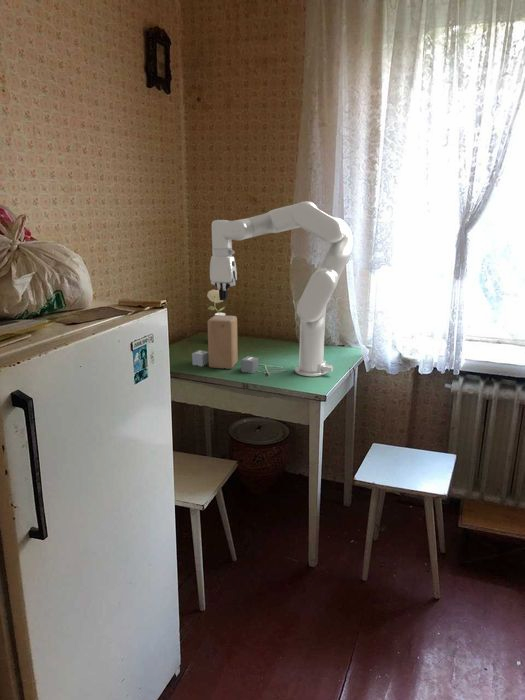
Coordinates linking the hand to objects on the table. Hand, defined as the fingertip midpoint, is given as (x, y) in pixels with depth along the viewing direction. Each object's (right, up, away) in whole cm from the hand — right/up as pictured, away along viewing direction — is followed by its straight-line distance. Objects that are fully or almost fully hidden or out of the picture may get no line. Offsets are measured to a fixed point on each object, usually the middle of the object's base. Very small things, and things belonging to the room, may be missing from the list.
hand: (223, 299), depth 207 cm
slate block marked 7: (-10, -26, +9) cm, 29 cm away
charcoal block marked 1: (+10, -28, +1) cm, 30 cm away
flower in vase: (-5, -16, +41) cm, 45 cm away
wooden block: (-1, -26, +8) cm, 27 cm away
